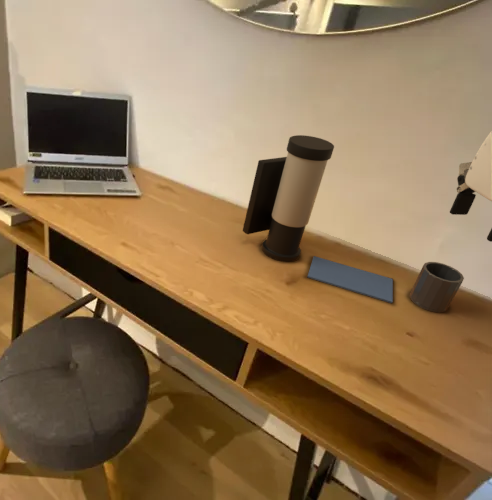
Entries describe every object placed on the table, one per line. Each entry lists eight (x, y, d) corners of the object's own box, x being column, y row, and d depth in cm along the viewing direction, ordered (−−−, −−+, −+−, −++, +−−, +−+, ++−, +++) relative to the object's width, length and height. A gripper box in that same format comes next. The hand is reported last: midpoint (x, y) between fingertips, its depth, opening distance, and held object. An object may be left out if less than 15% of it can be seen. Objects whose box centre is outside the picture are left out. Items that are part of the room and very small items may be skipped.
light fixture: (272, 267, 98) (304, 152, 85) (239, 241, 106) (264, 133, 93) (314, 256, 103) (350, 147, 90) (279, 232, 111) (308, 129, 98)
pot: (433, 291, 95) (448, 262, 92) (455, 312, 90) (472, 282, 86) (402, 290, 95) (416, 261, 91) (422, 312, 89) (437, 281, 85)
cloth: (392, 280, 97) (392, 278, 97) (391, 303, 90) (392, 301, 90) (313, 257, 103) (313, 255, 102) (307, 277, 95) (307, 275, 95)
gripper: (593, 150, 67) (534, 253, 76) (504, 116, 82) (463, 205, 91) (545, 148, 66) (491, 252, 75) (464, 114, 81) (426, 204, 90)
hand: (476, 226), depth 83 cm, fingers open, 9 cm apart
